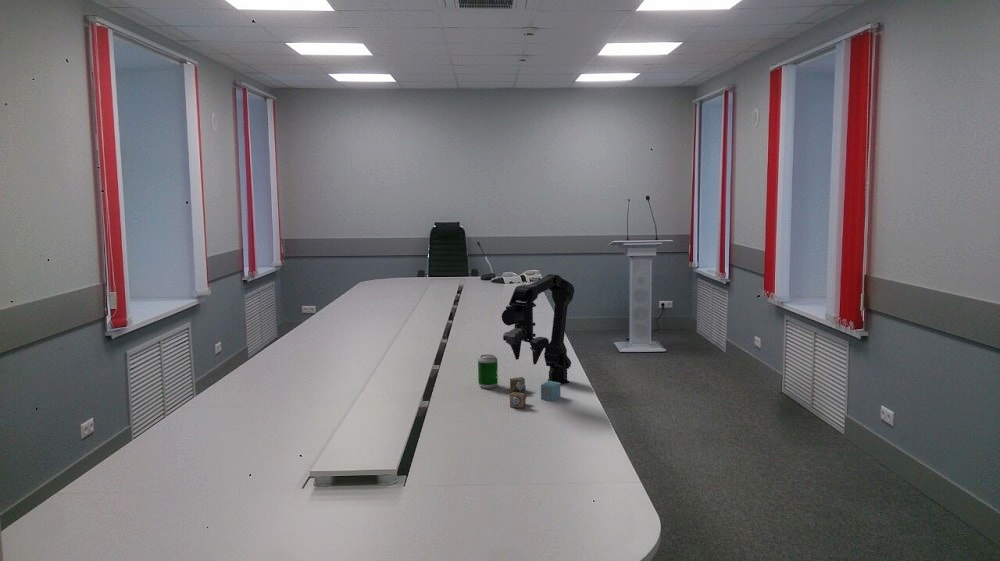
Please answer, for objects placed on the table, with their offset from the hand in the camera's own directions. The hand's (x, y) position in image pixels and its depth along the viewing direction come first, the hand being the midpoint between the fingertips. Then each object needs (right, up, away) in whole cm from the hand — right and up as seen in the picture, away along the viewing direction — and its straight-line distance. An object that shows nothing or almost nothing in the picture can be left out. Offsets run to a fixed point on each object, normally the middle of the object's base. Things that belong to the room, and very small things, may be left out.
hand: (525, 361), depth 239 cm
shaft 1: (-3, -12, +6) cm, 14 cm away
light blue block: (+9, -13, -2) cm, 16 cm away
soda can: (-14, -11, +14) cm, 23 cm away
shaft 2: (-3, -14, -10) cm, 18 cm away
